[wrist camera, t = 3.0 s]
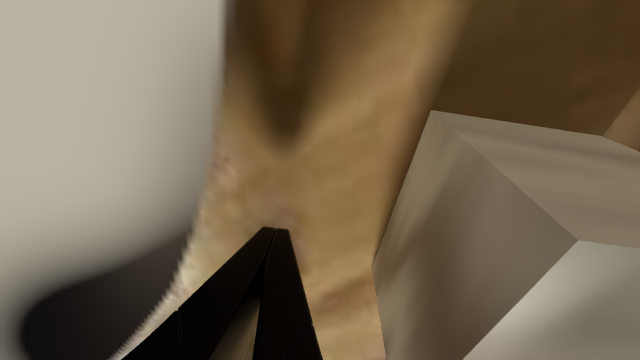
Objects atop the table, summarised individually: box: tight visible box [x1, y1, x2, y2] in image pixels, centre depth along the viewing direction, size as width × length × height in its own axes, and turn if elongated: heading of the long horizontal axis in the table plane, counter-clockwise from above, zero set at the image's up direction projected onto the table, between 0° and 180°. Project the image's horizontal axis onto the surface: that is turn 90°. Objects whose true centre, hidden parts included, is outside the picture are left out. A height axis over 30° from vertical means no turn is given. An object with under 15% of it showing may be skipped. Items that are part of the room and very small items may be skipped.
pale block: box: [372, 110, 640, 360], centre depth 8 cm, size 8×6×6 cm
